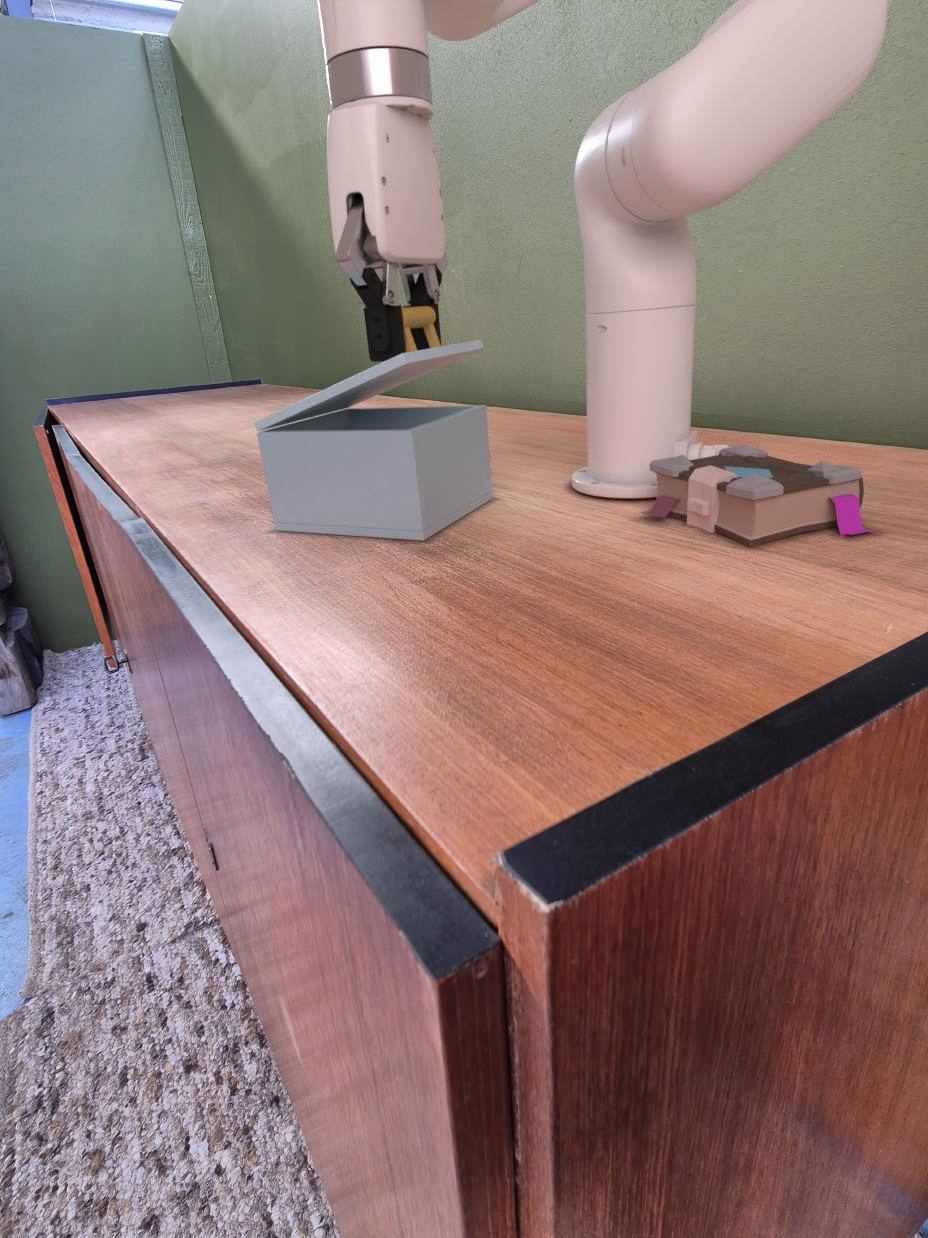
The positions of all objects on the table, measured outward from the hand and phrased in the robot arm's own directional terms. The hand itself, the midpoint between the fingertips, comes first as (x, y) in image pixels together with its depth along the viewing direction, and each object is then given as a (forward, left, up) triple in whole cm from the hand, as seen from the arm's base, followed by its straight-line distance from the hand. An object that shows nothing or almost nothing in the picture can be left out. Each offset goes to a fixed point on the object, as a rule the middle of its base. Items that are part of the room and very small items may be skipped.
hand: (406, 355), depth 60 cm
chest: (+4, 0, -14) cm, 14 cm away
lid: (+4, 0, -3) cm, 5 cm away
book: (-26, -5, -14) cm, 30 cm away
